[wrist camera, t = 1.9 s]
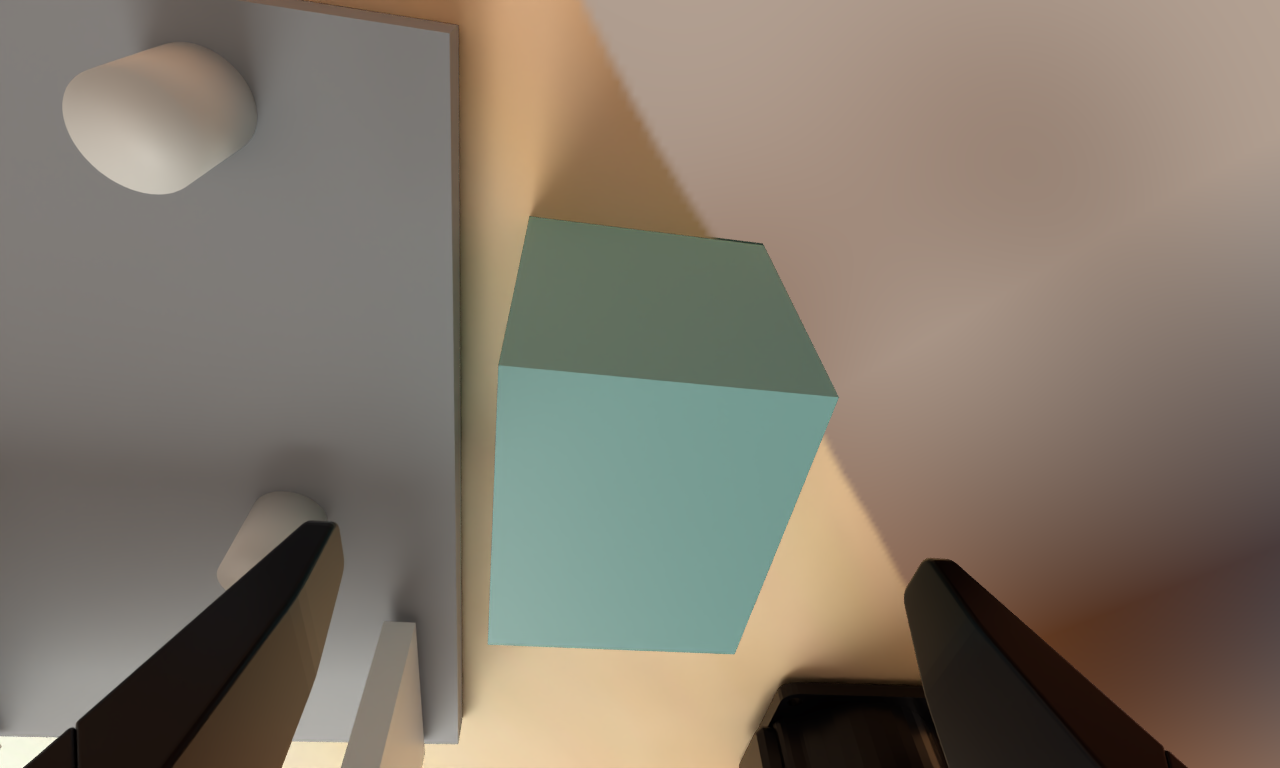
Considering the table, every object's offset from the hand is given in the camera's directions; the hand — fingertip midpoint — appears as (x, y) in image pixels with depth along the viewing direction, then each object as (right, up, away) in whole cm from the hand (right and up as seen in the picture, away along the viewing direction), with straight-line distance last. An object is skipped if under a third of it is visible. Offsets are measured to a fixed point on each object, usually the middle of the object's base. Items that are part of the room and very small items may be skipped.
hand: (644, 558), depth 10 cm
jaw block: (0, +3, +4) cm, 5 cm away
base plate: (-12, 0, +5) cm, 13 cm away
